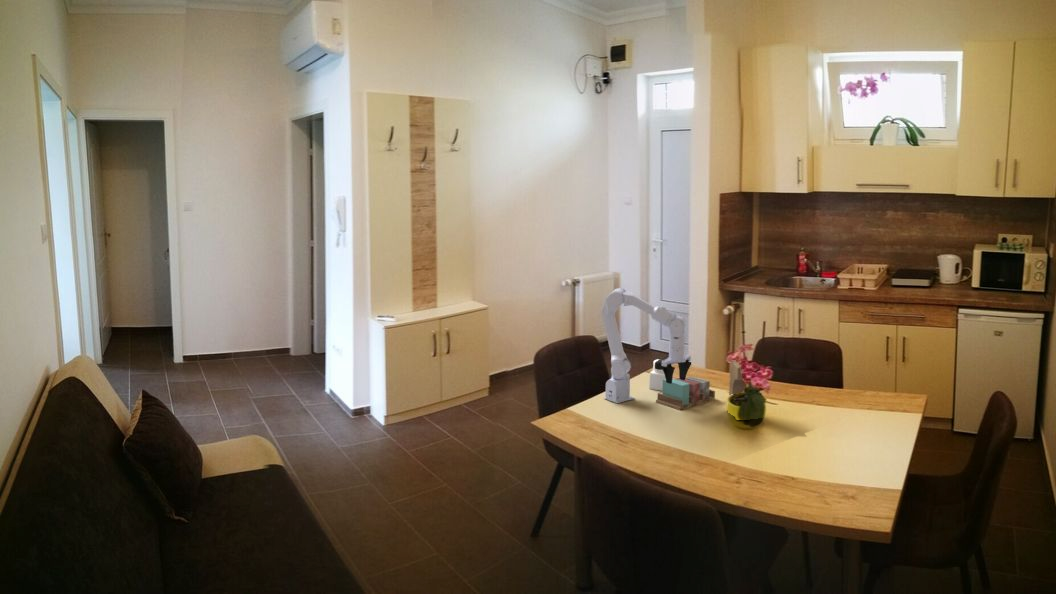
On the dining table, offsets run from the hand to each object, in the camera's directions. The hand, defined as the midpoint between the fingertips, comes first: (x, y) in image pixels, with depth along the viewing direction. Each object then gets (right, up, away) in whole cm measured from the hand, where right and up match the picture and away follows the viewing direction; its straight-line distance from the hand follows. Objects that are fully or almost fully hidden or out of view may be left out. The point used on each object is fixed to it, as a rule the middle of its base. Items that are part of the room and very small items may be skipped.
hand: (675, 381), depth 277 cm
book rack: (+5, -8, +5) cm, 11 cm away
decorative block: (+21, -12, -13) cm, 27 cm away
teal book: (0, -8, +1) cm, 8 cm away
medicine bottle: (-2, -6, +22) cm, 23 cm away
